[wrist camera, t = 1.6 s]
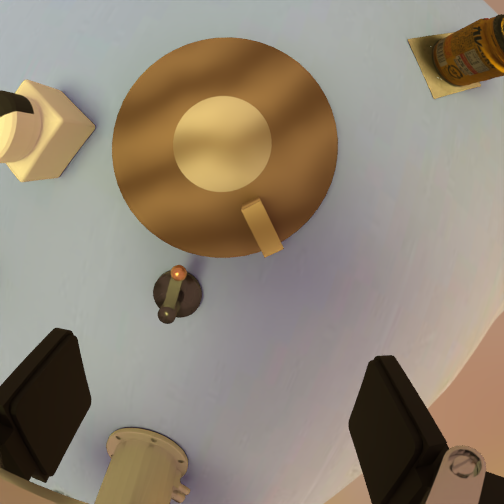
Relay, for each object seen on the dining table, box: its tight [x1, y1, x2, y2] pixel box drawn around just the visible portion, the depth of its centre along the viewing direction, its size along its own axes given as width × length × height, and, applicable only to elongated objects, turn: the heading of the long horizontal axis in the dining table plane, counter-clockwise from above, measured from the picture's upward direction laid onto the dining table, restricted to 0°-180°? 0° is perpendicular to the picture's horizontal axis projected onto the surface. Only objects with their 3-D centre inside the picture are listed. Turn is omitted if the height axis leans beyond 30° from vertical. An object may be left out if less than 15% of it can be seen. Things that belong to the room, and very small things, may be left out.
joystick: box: [153, 265, 202, 324], centre depth 30 cm, size 7×5×6 cm
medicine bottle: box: [0, 80, 95, 182], centre depth 23 cm, size 7×7×12 cm
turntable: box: [112, 38, 338, 258], centre depth 26 cm, size 20×20×6 cm
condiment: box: [408, 14, 504, 99], centre depth 21 cm, size 7×8×12 cm
